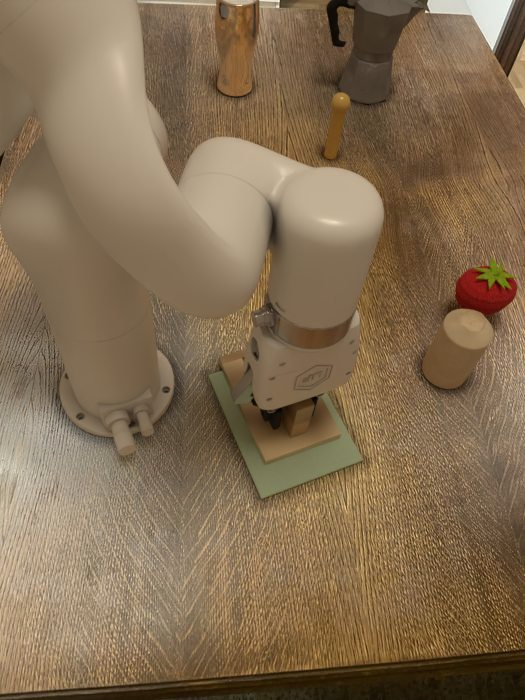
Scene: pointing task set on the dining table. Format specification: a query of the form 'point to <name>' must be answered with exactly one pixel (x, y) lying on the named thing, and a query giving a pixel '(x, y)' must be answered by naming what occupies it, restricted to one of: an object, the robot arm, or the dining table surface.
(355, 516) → the dining table surface
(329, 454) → the mat
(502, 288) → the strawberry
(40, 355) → the dining table surface
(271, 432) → the wooden board with handle
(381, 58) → the coffeepot
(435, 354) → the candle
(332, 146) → the wooden peg
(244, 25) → the beer glass
